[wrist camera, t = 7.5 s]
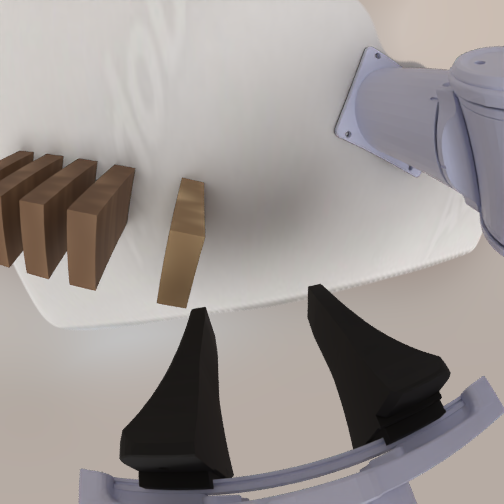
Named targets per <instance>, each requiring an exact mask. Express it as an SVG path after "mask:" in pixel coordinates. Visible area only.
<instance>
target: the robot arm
mask: <svg viewBox="0 0 504 504" xmlns="http://www.w3.org/2000/svg"><path fill="white" fill-rule="evenodd" d="M375 54H377V56H378V58H376V57H375ZM347 131H349V135H348V136H347V137H346V135H345V133H346V132H347ZM335 134H336V136H338V137H340V138H342V139H344V140H346V141H348V142H350V143H352V144H355V145H357V146H359V147H361V148H363V149H365V150H367V151H369V152H371V153H373V154H375V155H377V156H378V157H380V158H382V159H384V160H386V161H388V162H390V163H391V164H393V165H395V166H397V167H399V168H400V169H402V170H404V171H406V172H407V173H409V174H411V175H412V176H414V177H419V176H420V174H421V172H424V173H426V174H428V175H429V176H431V177H433V178H435V179H437V180H439V181H440V182H442V183H444V184H446V185H447V186H449V187H451V188H453V189H454V190H456V191H457V192H459V193H461V194H462V195H463V196H464V198H465V202H466V204H467V205H469V206H470V207H472V208H473V209H475V210H476V211H478V212H480V224H481V228H482V231H483V233H484V236H485V238H486V239H487V241H488V242H489V244H490V245H491V246H492V247H493V248H494V249H495V250H496V251H497V252H498V253H499V254H501V255H502V256H504V46H494V47H485V48H479V49H475V50H472V51H469V52H466V53H464V54H462V55H461V56H459V57H458V58H457V59H456V60H455V62H454V64H453V66H452V67H451V68H450V70H443V69H431V68H403V67H402V66H400V65H399V64H397V63H396V62H395V61H393V60H392V59H390V58H389V57H387V56H386V55H384V54H383V53H381V52H380V51H378V50H377V49H375V48H374V47H367V48H366V49H365V51H364V54H363V56H362V59H361V62H360V65H359V67H358V70H357V73H356V76H355V78H354V81H353V84H352V86H351V89H350V92H349V94H348V97H347V99H346V102H345V105H344V107H343V110H342V112H341V115H340V118H339V120H338V123H337V125H336V128H335ZM409 166H410V168H409ZM408 168H409V169H408ZM308 320H309V323H310V326H311V329H312V332H313V335H314V337H315V339H316V342H317V344H318V346H319V348H320V350H321V352H322V354H323V356H324V358H325V361H326V363H327V365H328V367H329V369H330V371H331V374H332V376H333V378H334V381H335V384H336V387H337V390H338V393H339V397H340V400H341V403H342V406H343V410H344V413H345V417H346V421H347V425H348V428H349V432H350V437H351V441H352V446H353V450H350V451H347V452H345V453H342V454H339V455H336V456H332V457H329V458H326V459H323V460H319V461H316V462H312V463H308V464H305V465H301V466H297V467H293V468H288V469H283V470H279V471H274V472H268V473H263V474H257V475H250V476H243V477H236V478H232V477H233V475H234V474H233V470H232V466H231V461H230V457H229V452H228V448H227V443H226V438H225V433H224V427H223V421H222V415H221V409H220V401H219V380H218V355H217V346H216V339H215V335H214V331H213V329H212V325H211V322H210V319H209V316H208V313H207V310H206V307H202V308H196V309H192V311H191V313H190V316H189V320H188V323H187V326H186V329H185V332H184V334H183V337H182V340H181V342H180V345H179V347H178V350H177V352H176V354H175V356H174V358H173V360H172V363H171V365H170V367H169V369H168V370H167V372H166V374H165V376H164V378H163V379H162V381H161V383H160V384H159V386H158V387H157V389H156V390H155V392H154V393H153V395H152V396H151V398H150V399H149V400H148V402H147V403H146V404H145V405H144V407H143V408H142V409H141V411H140V412H139V413H138V414H137V415H136V417H135V418H134V419H133V420H132V421H131V422H130V423H129V424H128V425H127V426H126V427H125V428H124V429H123V430H122V436H121V441H120V460H121V461H122V462H123V463H124V464H126V465H128V466H130V467H131V468H133V469H136V470H137V471H139V480H136V479H125V478H116V477H112V476H111V475H109V474H106V473H103V472H98V471H93V470H87V469H80V480H79V504H417V502H416V500H415V497H414V495H413V492H412V489H411V487H410V484H409V481H410V480H412V479H414V478H416V477H418V476H419V475H421V474H423V473H424V472H426V471H428V470H429V469H431V468H433V467H434V466H436V465H437V464H439V463H440V462H442V461H444V460H445V459H447V458H448V457H450V456H451V455H452V454H454V453H455V452H456V451H458V450H459V449H461V448H462V447H464V446H465V445H466V444H467V443H469V442H470V441H471V440H473V439H474V438H475V437H476V436H478V435H479V434H480V433H481V432H482V431H484V430H485V429H486V428H487V427H488V426H490V425H491V424H492V423H493V422H494V421H495V420H496V419H498V418H499V417H500V416H501V415H502V414H503V413H504V407H503V405H502V404H501V402H500V400H499V399H498V397H497V395H496V394H495V392H494V390H493V389H492V387H491V385H490V384H489V382H488V381H487V379H486V378H485V376H482V377H481V378H480V379H478V380H477V381H475V382H474V383H473V384H471V385H470V386H469V387H467V388H466V389H465V390H464V391H463V393H462V394H461V396H459V397H458V398H456V399H455V400H453V401H451V402H450V403H448V404H447V405H445V406H443V405H442V403H441V401H440V399H441V398H442V397H441V394H440V393H439V390H440V389H441V388H442V387H443V386H444V384H445V383H446V382H447V380H448V379H449V377H450V371H449V369H448V367H447V366H446V364H445V363H444V361H443V360H442V359H441V357H439V356H436V355H433V354H429V353H426V352H423V351H420V350H417V349H415V348H413V347H410V346H408V345H405V344H403V343H401V342H399V341H397V340H395V339H393V338H391V337H389V336H387V335H386V334H384V333H382V332H381V331H379V330H377V329H376V328H374V327H373V326H371V325H369V324H368V323H367V322H365V321H364V320H363V319H361V318H360V317H359V316H357V315H356V314H355V313H354V312H352V311H351V310H350V309H349V308H347V307H346V306H345V305H344V304H343V303H341V302H340V301H339V300H338V299H337V298H336V297H335V296H333V295H332V294H331V293H330V292H329V291H328V290H327V289H326V288H325V287H324V286H323V285H321V284H318V285H313V286H309V287H308ZM390 450H391V451H390ZM388 451H389V452H388ZM386 452H387V453H386ZM384 453H385V454H384ZM381 454H383V455H382V456H379V455H381ZM376 456H379V457H378V458H375V459H373V460H371V461H370V462H369V464H368V465H367V466H366V467H364V468H362V469H361V470H360V472H359V473H356V474H353V475H350V476H347V477H344V478H341V479H338V480H335V481H331V482H328V483H324V484H321V485H318V486H314V487H310V488H306V489H302V490H299V491H294V492H290V493H286V494H281V495H277V496H272V497H268V498H262V499H257V500H250V501H249V499H248V498H241V496H240V495H226V496H225V495H222V496H208V495H220V494H231V493H241V492H249V491H256V490H262V489H268V488H274V487H278V486H284V485H288V484H293V483H297V482H301V481H305V480H309V479H313V478H317V477H320V476H324V475H327V474H330V473H333V472H336V471H339V470H342V469H345V468H348V467H351V466H354V465H356V464H359V463H362V462H364V461H367V460H369V459H372V458H374V457H376Z"/></svg>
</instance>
